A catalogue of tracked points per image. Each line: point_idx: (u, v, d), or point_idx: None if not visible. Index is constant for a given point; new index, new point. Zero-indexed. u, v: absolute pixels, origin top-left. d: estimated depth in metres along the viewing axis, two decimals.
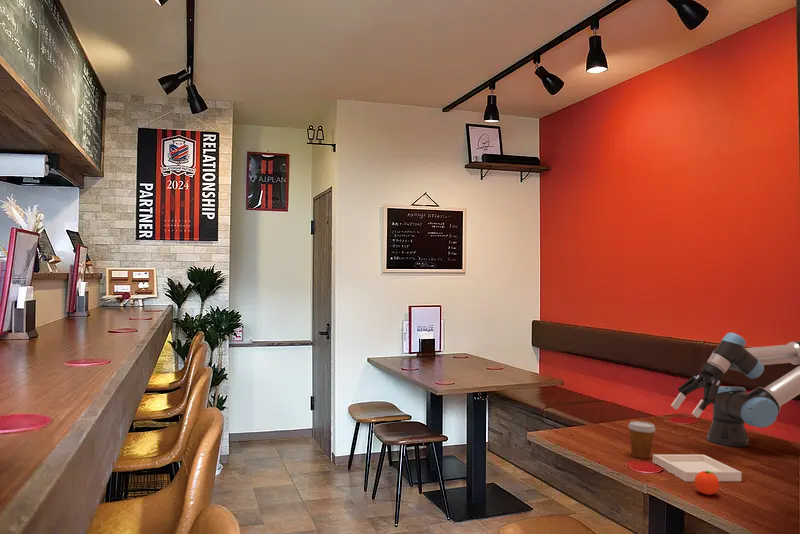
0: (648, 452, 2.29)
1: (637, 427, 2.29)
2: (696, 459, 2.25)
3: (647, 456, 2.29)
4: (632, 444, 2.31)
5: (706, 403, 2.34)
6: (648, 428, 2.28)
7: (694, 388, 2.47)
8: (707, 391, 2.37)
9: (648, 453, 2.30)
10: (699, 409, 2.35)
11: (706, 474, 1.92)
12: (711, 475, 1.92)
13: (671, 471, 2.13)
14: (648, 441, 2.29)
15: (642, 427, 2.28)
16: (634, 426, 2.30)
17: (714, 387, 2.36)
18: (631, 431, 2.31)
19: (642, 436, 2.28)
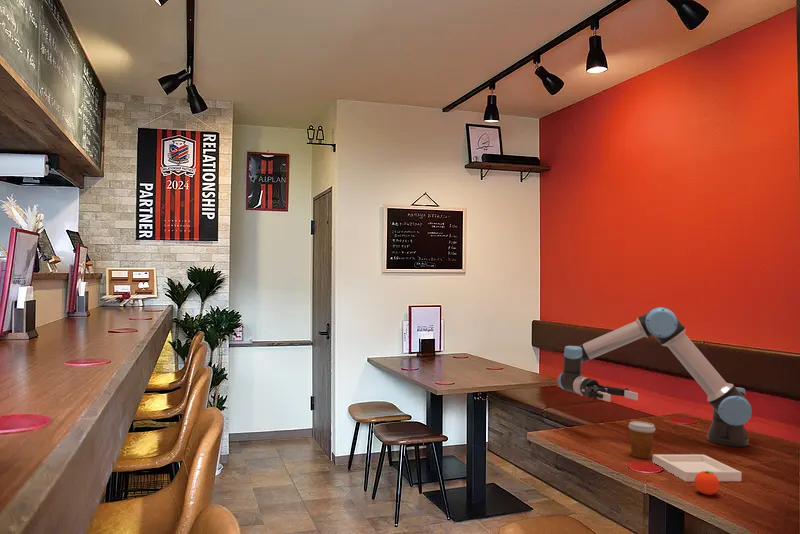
0: (648, 452, 2.29)
1: (637, 427, 2.29)
2: (696, 459, 2.25)
3: (647, 456, 2.29)
4: (632, 444, 2.31)
5: (595, 395, 2.44)
6: (648, 428, 2.28)
7: (612, 390, 2.53)
8: None
9: (648, 453, 2.30)
10: (603, 397, 2.41)
11: (706, 474, 1.92)
12: (711, 475, 1.92)
13: (671, 471, 2.13)
14: (648, 441, 2.29)
15: (642, 427, 2.28)
16: (634, 426, 2.30)
17: (585, 392, 2.50)
18: (631, 431, 2.31)
19: (642, 436, 2.28)
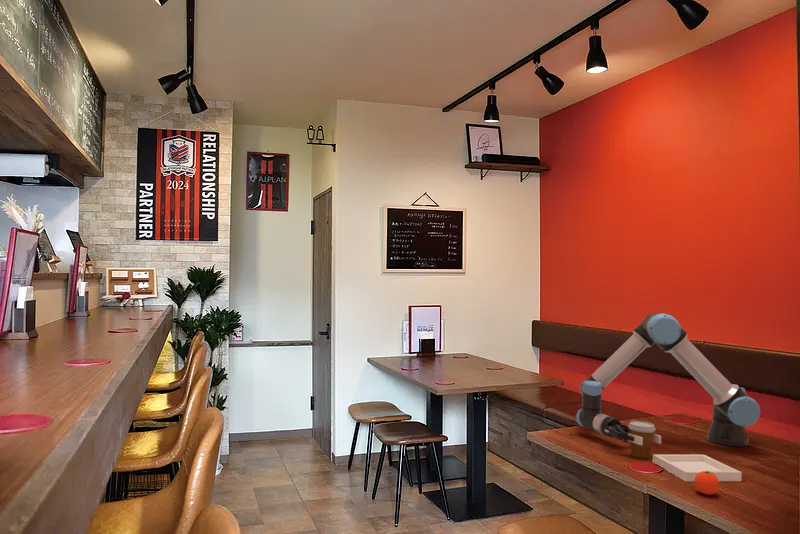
0: (648, 452, 2.29)
1: (637, 427, 2.29)
2: (696, 459, 2.25)
3: (647, 456, 2.29)
4: (632, 444, 2.31)
5: (626, 437, 2.31)
6: (648, 428, 2.28)
7: None
8: None
9: (648, 453, 2.30)
10: (635, 440, 2.29)
11: (706, 474, 1.92)
12: (711, 475, 1.92)
13: (671, 471, 2.13)
14: (648, 441, 2.29)
15: (642, 427, 2.28)
16: (634, 426, 2.30)
17: (611, 433, 2.37)
18: (631, 431, 2.31)
19: (642, 436, 2.28)
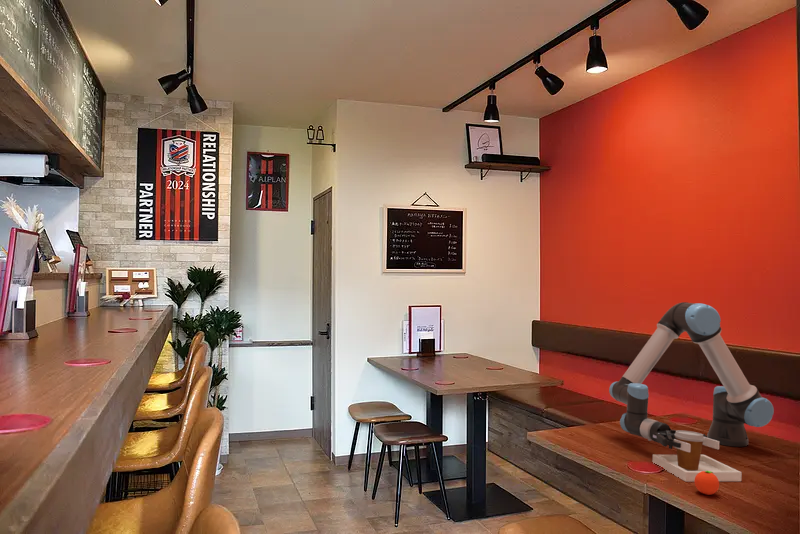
0: (696, 463, 2.13)
1: (684, 435, 2.13)
2: None
3: (695, 468, 2.13)
4: (679, 454, 2.15)
5: (672, 443, 2.15)
6: (697, 437, 2.12)
7: None
8: None
9: (697, 464, 2.13)
10: (681, 446, 2.13)
11: (706, 474, 1.92)
12: (711, 475, 1.92)
13: (671, 471, 2.13)
14: (696, 451, 2.12)
15: (690, 435, 2.12)
16: (681, 434, 2.14)
17: (657, 439, 2.22)
18: None
19: None
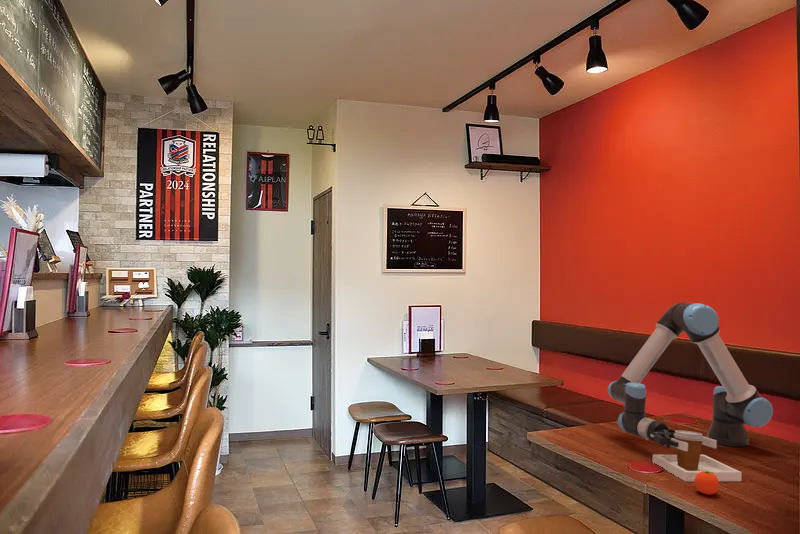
0: (696, 463, 2.13)
1: (684, 435, 2.14)
2: None
3: (695, 467, 2.13)
4: (678, 454, 2.15)
5: (669, 443, 2.16)
6: (696, 436, 2.12)
7: None
8: None
9: (696, 464, 2.13)
10: (679, 445, 2.14)
11: (706, 474, 1.92)
12: (711, 475, 1.92)
13: (671, 471, 2.13)
14: (696, 451, 2.12)
15: (689, 435, 2.13)
16: (680, 434, 2.14)
17: (655, 438, 2.23)
18: None
19: (689, 445, 2.13)
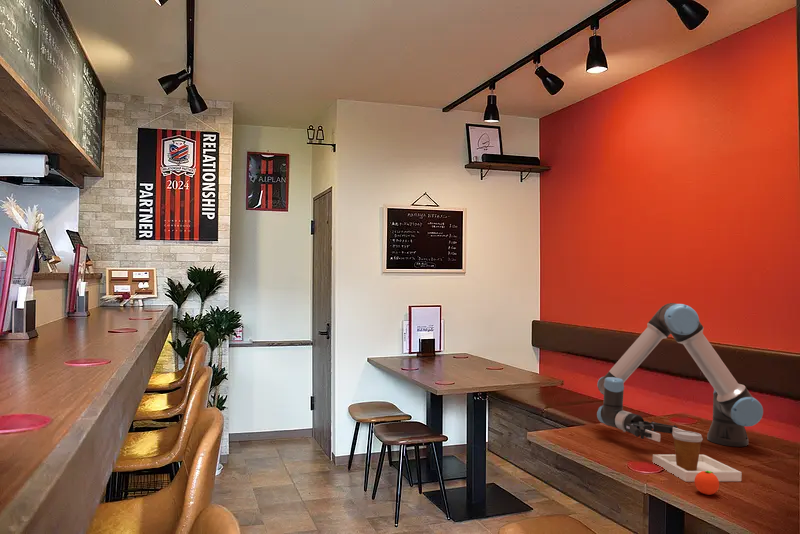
0: (694, 464, 2.13)
1: (682, 436, 2.13)
2: None
3: (693, 468, 2.13)
4: (677, 454, 2.15)
5: (643, 434, 2.27)
6: (694, 437, 2.12)
7: (659, 427, 2.36)
8: None
9: (695, 465, 2.13)
10: (652, 436, 2.25)
11: (706, 474, 1.92)
12: (711, 475, 1.92)
13: (671, 471, 2.13)
14: (694, 452, 2.12)
15: (687, 436, 2.12)
16: (678, 435, 2.14)
17: (630, 430, 2.34)
18: (675, 440, 2.16)
19: (687, 446, 2.12)
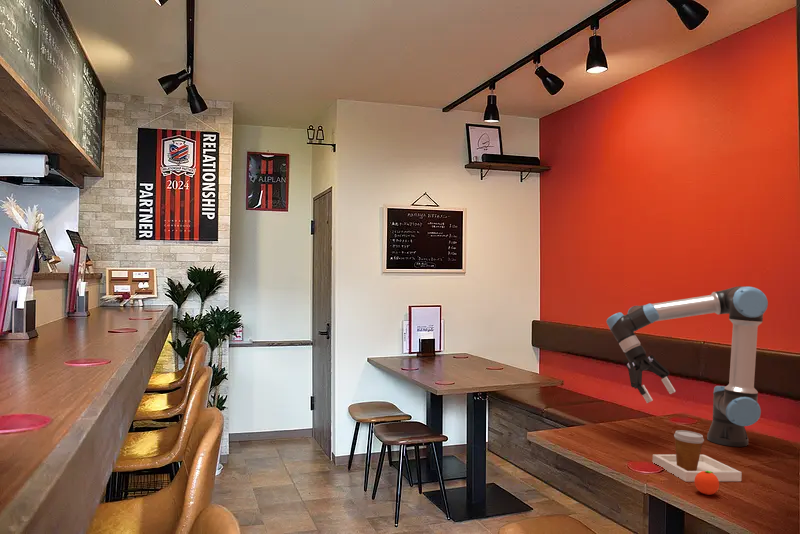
0: (695, 464, 2.13)
1: (683, 437, 2.13)
2: None
3: (693, 469, 2.13)
4: (677, 455, 2.15)
5: (638, 388, 2.42)
6: (695, 439, 2.11)
7: (654, 369, 2.49)
8: (636, 376, 2.46)
9: (695, 465, 2.13)
10: (645, 395, 2.41)
11: (706, 474, 1.92)
12: (711, 475, 1.92)
13: (671, 471, 2.13)
14: (695, 453, 2.12)
15: (689, 437, 2.12)
16: (680, 436, 2.14)
17: (630, 372, 2.45)
18: (676, 441, 2.15)
19: (688, 447, 2.12)
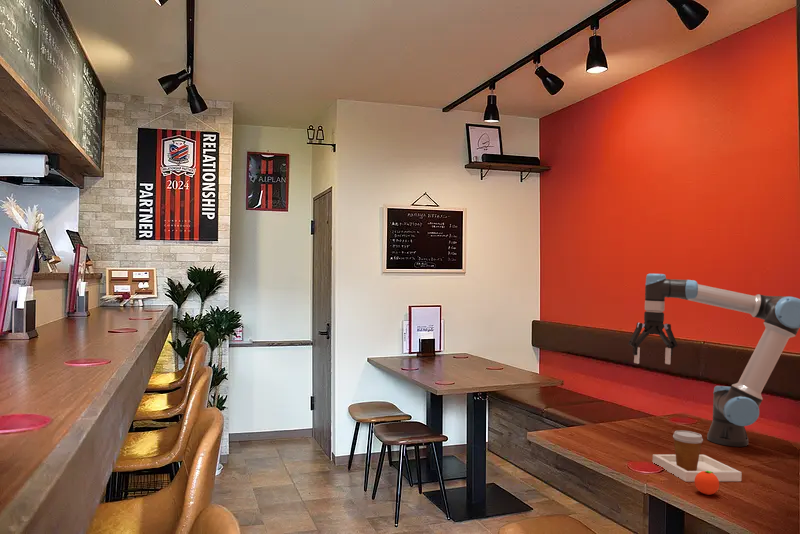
0: (695, 464, 2.13)
1: (682, 437, 2.13)
2: None
3: (693, 469, 2.13)
4: (677, 455, 2.15)
5: (633, 348, 2.53)
6: (694, 439, 2.11)
7: (663, 337, 2.55)
8: (639, 337, 2.54)
9: (695, 465, 2.13)
10: (635, 356, 2.54)
11: (706, 474, 1.92)
12: (711, 475, 1.92)
13: (671, 471, 2.13)
14: (694, 453, 2.12)
15: (688, 437, 2.12)
16: (679, 436, 2.14)
17: (635, 331, 2.54)
18: (676, 441, 2.15)
19: (687, 447, 2.12)
